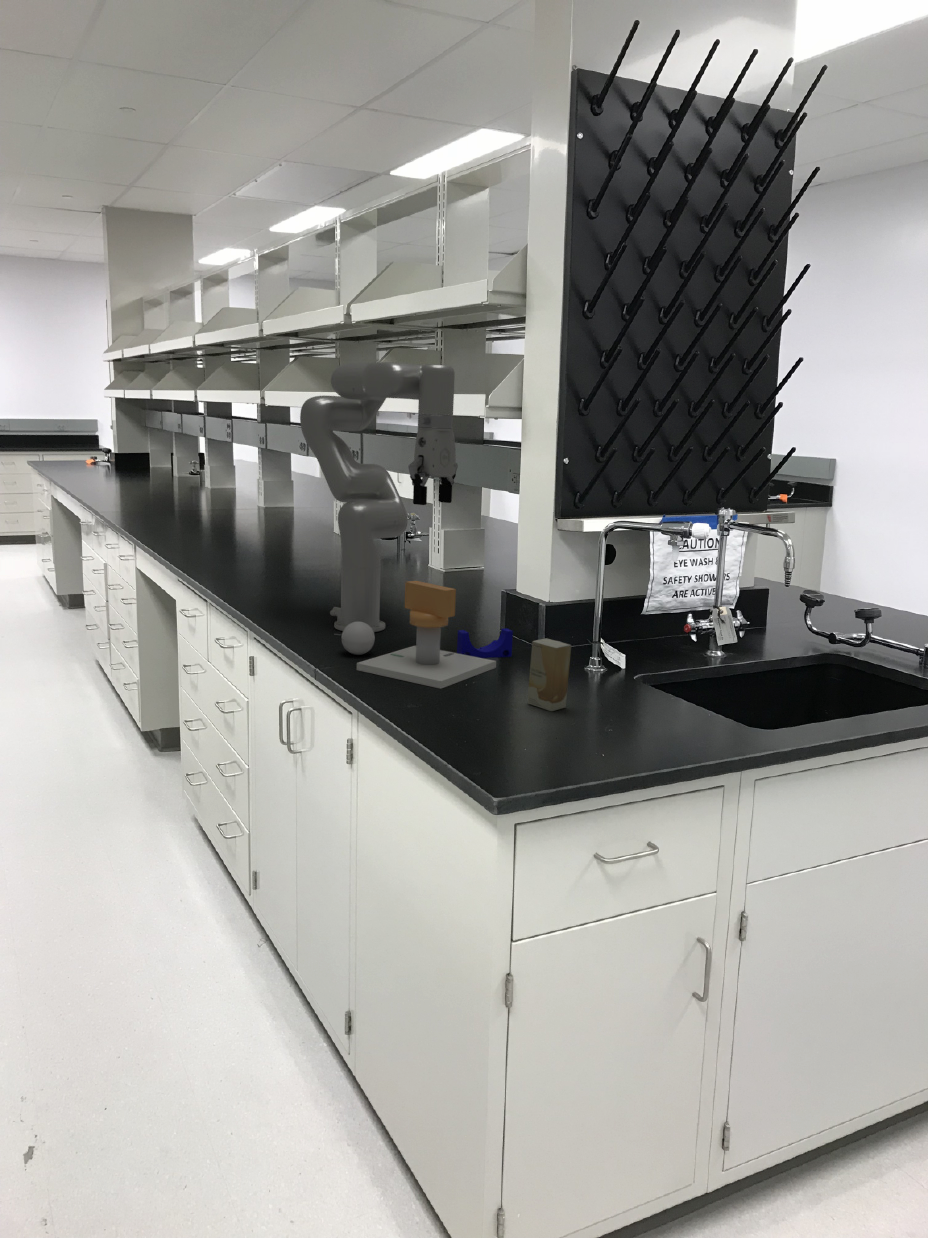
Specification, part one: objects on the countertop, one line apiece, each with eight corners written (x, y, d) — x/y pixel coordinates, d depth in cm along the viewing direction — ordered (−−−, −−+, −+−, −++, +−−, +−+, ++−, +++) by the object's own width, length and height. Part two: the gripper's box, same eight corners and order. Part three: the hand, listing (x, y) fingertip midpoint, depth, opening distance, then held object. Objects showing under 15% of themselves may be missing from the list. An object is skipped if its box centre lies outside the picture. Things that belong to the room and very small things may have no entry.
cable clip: (503, 652, 215) (505, 626, 213) (511, 657, 210) (512, 631, 209) (454, 655, 210) (455, 628, 209) (461, 659, 206) (462, 633, 205)
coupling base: (356, 670, 194) (357, 623, 192) (415, 651, 211) (417, 609, 209) (440, 688, 183) (442, 639, 181) (495, 667, 200) (498, 622, 198)
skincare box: (526, 704, 175) (529, 640, 173) (541, 700, 178) (545, 637, 176) (552, 712, 171) (556, 647, 168) (567, 708, 174) (572, 643, 171)
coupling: (462, 626, 193) (464, 587, 192) (434, 631, 188) (436, 591, 186) (423, 616, 202) (424, 579, 200) (395, 620, 196) (396, 582, 194)
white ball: (381, 653, 208) (382, 621, 206) (361, 660, 202) (361, 626, 200) (345, 646, 213) (346, 615, 211) (324, 652, 207) (325, 620, 205)
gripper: (426, 423, 193) (423, 506, 196) (471, 425, 207) (468, 502, 211) (397, 422, 197) (395, 504, 200) (443, 424, 211) (440, 500, 215)
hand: (432, 503), depth 205 cm, fingers open, 9 cm apart
